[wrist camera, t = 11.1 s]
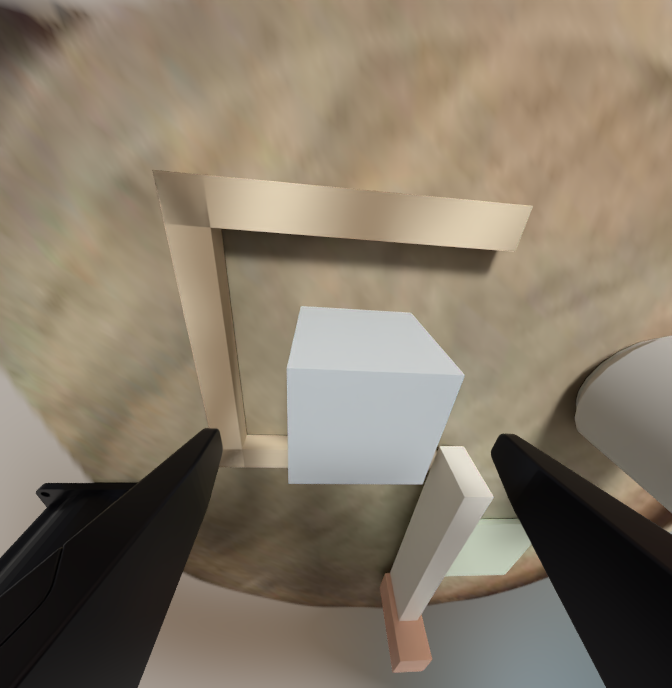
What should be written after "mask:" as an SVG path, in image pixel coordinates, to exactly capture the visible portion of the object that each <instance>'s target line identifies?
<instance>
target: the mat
mask: <svg viewBox="0 0 672 688" xmlns="http://www.w3.org/2000/svg"><path fill="white" fill-rule="evenodd" d="M530 545H531V542H530V540H529V538H528V536H527V534H526V532H525V530H524V529H523V527H522V525H521V523H520V521H519V519H480V520H479V522H478V524H477V525H476V527H475V528H474V530H473V532H472V533H471V535H470V536H469V538H468V540H467V541H466V543H465V544H464V546H463V548H462V549H461V551H460V553H459V554H458V556H457V557H456V559H455V561H454V562H453V564H452V565H451V567H450V569H449V570H448V572H447V573H446V575H445V576H474V575H505V574H506V573H507V572H508V570H509V569H510V568H511V567H512V566H513V565H514V563H515V562H516V561H517V560H518V559H519V558H520V557H521V555H522V554H523V553H524V552H525V551H526V550H527V548H528V547H529V546H530Z"/></svg>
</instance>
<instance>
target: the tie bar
mask: <svg viewBox="0 0 672 688" xmlns="http://www.w3.org/2000/svg"><path fill="white" fill-rule="evenodd" d="M493 498H494V496H493V495H492V493H491V491H490V490H489V488H488V486H487V485H486V483H485V481H484V480H483V478H482V476H481V475H480V473H479V471H478V470H477V468H476V466H475V465H474V463H473V461H472V460H471V458H470V456H469V455H468V453H467V451H466V449H465V448H464V446H439V448H438V451H437V454H436V456H435V459H434V461H433V464H432V467H431V469H430V472H429V474H428V477H427V479H426V482H425V484H424V487H423V490H422V492H421V495H420V497H419V500H418V502H417V505H416V508H415V510H414V513H413V515H412V518H411V520H410V523H409V525H408V528H407V531H406V533H405V536H404V538H403V541H402V543H401V546H400V549H399V551H398V554H397V556H396V559H395V561H394V564H393V567H392V569H391V572H390V573H385V575H384V577H383V580H382V583H381V585H380V592H381V599H382V605H383V612H384V619H385V625H386V632H387V639H388V645H389V652H390V658H391V665H392V672H393V673H395V672H413V671H423V670H424V669H425V668H426V666H427V665H428V664H429V663H430V662H431V661H432V656H431V653H430V648H429V644H428V640H427V636H426V632H425V628H424V623H423V620H422V615H421V614H422V612H423V610H424V609H425V607H426V606H427V604H428V602H429V601H430V599H431V598H432V596H433V594H434V593H435V591H436V590H437V588H438V586H439V585H440V583H441V581H442V580H443V578H444V577H445V575H446V573H447V572H448V570H449V569H450V567H451V565H452V564H453V562H454V561H455V559H456V557H457V556H458V554H459V553H460V551H461V549H462V548H463V546H464V544H465V543H466V541H467V540H468V538H469V536H470V535H471V533H472V532H473V530H474V528H475V527H476V525H477V524H478V522H479V520H480V519H481V517H482V516H483V514H484V512H485V511H486V509H487V508H488V506H489V504H490V503H491V501H492V499H493Z"/></svg>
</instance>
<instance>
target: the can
mask: <svg viewBox="0 0 672 688" xmlns="http://www.w3.org/2000/svg"><path fill="white" fill-rule="evenodd" d="M576 407H577V410H576V414H575V423H576V427H577V431H578V432H579V433H580V434H582V435H583V436H584V437H585V438H586V439H587V440H588V441H589V442H590V443H592V444H593V445H594V446H595V447H596V448H597V449H599V450H600V451H601V452H602V453H603V454H604V455H605V456H607V457H608V458H609V459H610V460H611V461H612V462H614V463H615V464H616V465H617V466H618V467H619V468H620V469H622V470H623V471H624V472H625V473H626V474H627V475H629V476H630V477H631V478H632V479H633V480H634V481H635V482H637V483H638V484H639V485H640V486H641V487H642V488H644V489H645V490H646V491H647V492H648V493H649V494H650V495H652V496H653V497H654V498H655V499H656V500H657V501H659V502H660V503H661V504H662V505H663V506H664V507H665V508H667V509H668V510H669V511H670V512H671V513H672V336H667V337H663V338H656V339H652V340H648V341H644V342H639V343H637V344H635V345H632V346H630V347H628V348H626V349H624V350H621V351H619V352H617V353H616V354H615V355H613V356H612V357H610V358H609V359H607V360H606V361H604V362H603V363H601V364H600V365H599V366H598V367H597V368H596V369H595V370H594V371H593V372H592V373H591V374H590V375H589V376H588V377H587V378H586V380H585V382H584V383H583V385H582V386H581V388H580V390H579V391H578V395H577V399H576Z"/></svg>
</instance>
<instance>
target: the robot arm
mask: <svg viewBox="0 0 672 688" xmlns="http://www.w3.org/2000/svg"><path fill="white" fill-rule="evenodd" d="M222 453H223V445H222V440H221V435H220V431H219V429H217V428H205V429H203V430H201V431H200V432H199V433H198V434H196V435H195V436H194V437H193V438H192V439H190V440H189V441H188V442H187V443H186V444H184V445H183V446H182V447H181V448H180V449H178V450H177V451H176V452H175V453H174V454H172V455H171V456H170V457H169V458H167V459H166V460H165V461H164V462H163V463H161V464H160V465H159V466H158V467H157V468H155V469H154V470H153V471H152V472H151V473H149V474H148V475H147V476H146V477H145V478H143V479H142V480H141V481H140V482H138V483H45V484H43V485H42V486H41V487H40V488H39V489H38V490H37V491H36V494H37V496H38V497H39V498H40V499H41V501H42V502H43V503H44V504H45V505H46V507H47V508H46V509H45V510H44V512H43V513H42V514H41V515H40V516H39V517H38V518H37V519H36V520H35V521H34V522H33V523H32V525H30V527H29V528H28V529H27V530H26V531H25V532H24V533H23V534H22V535H21V536H20V537H19V538H18V540H17V541H16V542H15V543H14V544H13V545H12V546H11V547H10V548H9V549H8V550H7V551H6V553H4V555H3V556H2V557H1V558H0V688H138V685H139V683H140V680H141V677H142V675H143V673H144V670H145V667H146V665H147V662H148V660H149V657H150V655H151V652H152V649H153V647H154V644H155V642H156V639H157V636H158V634H159V631H160V629H161V626H162V624H163V621H164V618H165V616H166V613H167V611H168V608H169V606H170V603H171V600H172V598H173V595H174V593H175V590H176V587H177V585H178V582H179V580H180V577H181V575H182V572H183V570H184V567H185V564H186V562H187V559H188V557H189V554H190V552H191V549H192V546H193V544H194V541H195V539H196V536H197V534H198V531H199V528H200V526H201V523H202V521H203V518H204V515H205V513H206V510H207V507H208V504H209V500H210V497H211V493H212V490H213V486H214V482H215V479H216V475H217V472H218V468H219V464H220V461H221V457H222ZM491 457H492V460H493V462H494V464H495V467H496V469H497V472H498V474H499V476H500V479H501V481H502V484H503V486H504V488H505V491H506V493H507V496H508V498H509V500H510V503H511V505H512V507H513V509H514V511H515V513H516V515H517V517H518V519H519V521H520V523H521V525H522V527H523V529H524V530H525V532H526V534H527V536H528V538H529V540H530V542H531V544H532V546H533V548H534V550H535V552H536V554H537V556H538V557H539V559H540V561H541V563H542V565H543V567H544V569H545V571H546V573H547V575H548V577H549V579H550V581H551V582H552V584H553V586H554V588H555V590H556V592H557V594H558V596H559V598H560V600H561V602H562V604H563V605H564V607H565V609H566V611H567V613H568V615H569V617H570V619H571V621H572V623H573V625H574V627H575V629H576V631H577V633H578V634H579V636H580V638H581V640H582V642H583V644H584V646H585V648H586V650H587V652H588V653H589V656H590V657H591V659H592V661H593V663H594V665H595V667H596V669H597V671H598V673H599V675H600V677H601V679H602V680H603V682H604V685H605V686H606V688H672V534H670V533H669V532H667V531H666V530H664V529H662V528H661V527H659V526H658V525H656V524H655V523H653V522H651V521H650V520H648V519H647V518H645V517H644V516H642V515H640V514H639V513H637V512H636V511H634V510H633V509H631V508H630V507H628V506H626V505H625V504H623V503H622V502H620V501H619V500H617V499H615V498H614V497H612V496H611V495H609V494H608V493H606V492H604V491H603V490H601V489H600V488H598V487H597V486H595V485H594V484H592V483H590V482H589V481H587V480H586V479H584V478H583V477H581V476H579V475H578V474H576V473H575V472H573V471H572V470H570V469H568V468H567V467H565V466H564V465H562V464H561V463H559V462H558V461H556V460H554V459H553V458H551V457H550V456H548V455H547V454H545V453H543V452H542V451H540V450H539V449H537V448H536V447H534V446H532V445H531V444H529V443H528V442H526V441H525V440H523V439H522V438H520V437H518V436H517V435H515V434H501V435H499V437H498V438H497V440H496V442H495V444H494V446H493V448H492V450H491Z"/></svg>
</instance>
